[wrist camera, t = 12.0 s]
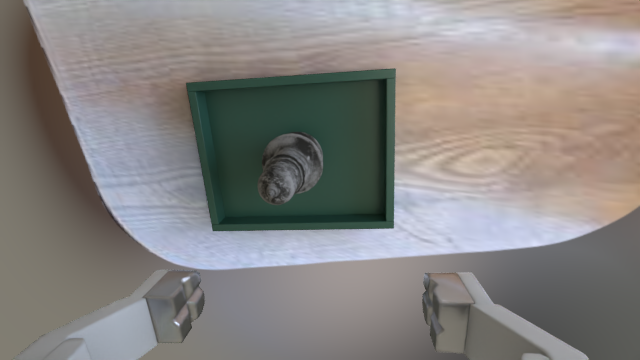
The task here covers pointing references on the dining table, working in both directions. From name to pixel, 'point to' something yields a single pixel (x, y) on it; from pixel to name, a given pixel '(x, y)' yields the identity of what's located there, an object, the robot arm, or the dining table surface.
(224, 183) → the tray
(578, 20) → the dining table surface
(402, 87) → the dining table surface
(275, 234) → the dining table surface
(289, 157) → the dark grey chess piece
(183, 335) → the robot arm
